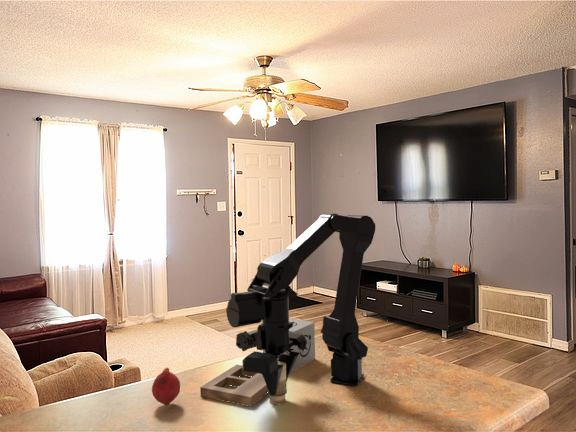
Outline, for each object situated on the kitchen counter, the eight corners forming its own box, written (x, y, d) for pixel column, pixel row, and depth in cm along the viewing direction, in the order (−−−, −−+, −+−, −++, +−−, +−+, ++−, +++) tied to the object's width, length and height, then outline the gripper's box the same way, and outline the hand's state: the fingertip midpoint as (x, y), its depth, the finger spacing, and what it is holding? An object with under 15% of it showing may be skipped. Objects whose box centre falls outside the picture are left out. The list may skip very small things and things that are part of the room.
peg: (290, 399, 100) (289, 362, 99) (281, 406, 96) (280, 369, 96) (273, 395, 102) (272, 360, 101) (264, 403, 98) (263, 366, 98)
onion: (173, 412, 95) (171, 374, 94) (147, 410, 96) (146, 372, 96) (185, 399, 101) (183, 363, 100) (160, 398, 102) (159, 362, 101)
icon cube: (284, 352, 130) (283, 317, 130) (315, 358, 124) (314, 322, 124) (263, 363, 122) (262, 326, 121) (294, 370, 116) (293, 331, 116)
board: (282, 380, 110) (282, 372, 110) (250, 406, 97) (250, 397, 97) (236, 372, 116) (236, 364, 116) (200, 395, 102) (200, 387, 102)
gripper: (263, 306, 110) (265, 370, 111) (219, 326, 93) (221, 402, 94) (306, 310, 105) (307, 377, 106) (267, 332, 88) (269, 412, 89)
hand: (277, 390), depth 99 cm, fingers closed on peg, 4 cm apart
